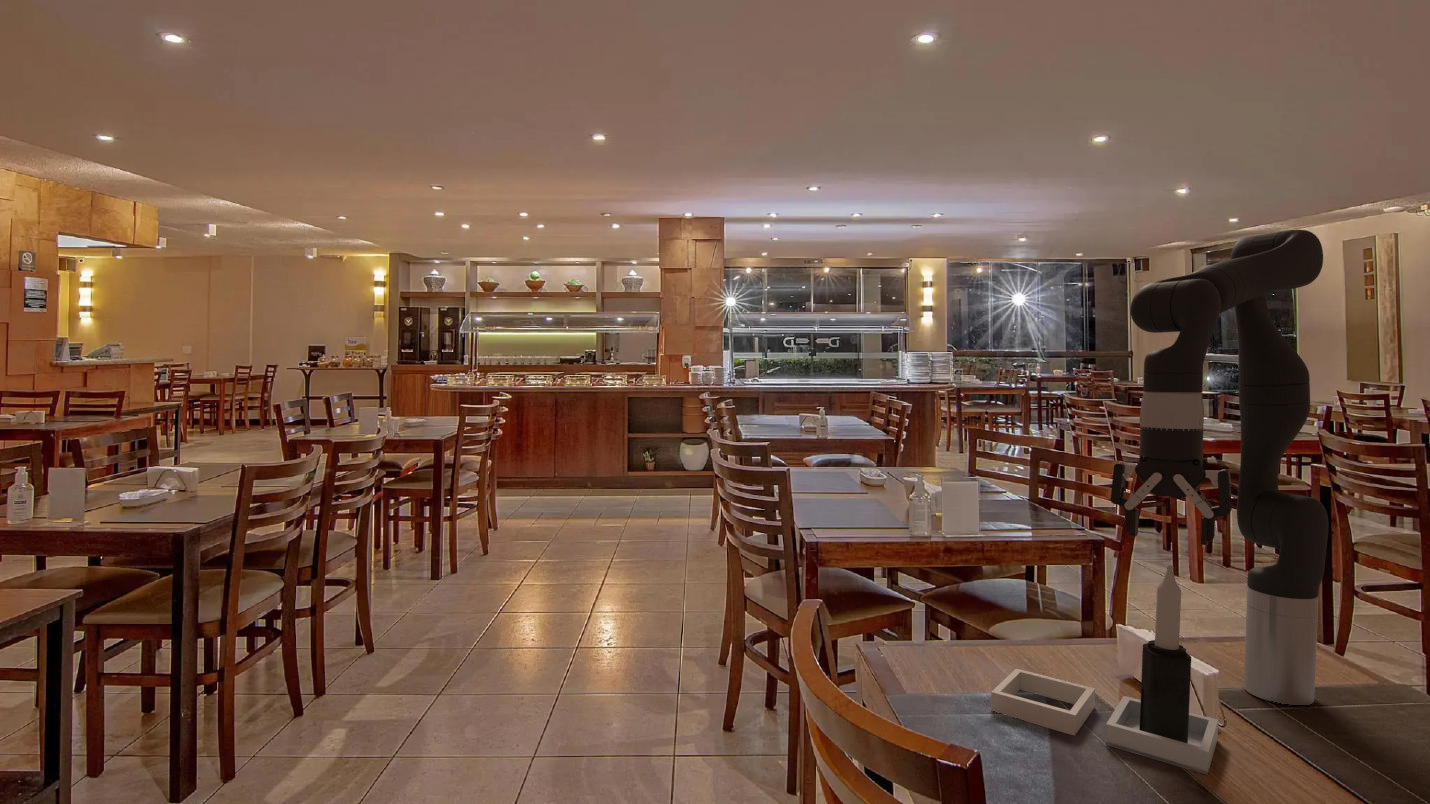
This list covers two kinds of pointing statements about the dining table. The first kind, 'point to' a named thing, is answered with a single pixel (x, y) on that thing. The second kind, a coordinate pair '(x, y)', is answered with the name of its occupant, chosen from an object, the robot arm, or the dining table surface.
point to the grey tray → (1163, 738)
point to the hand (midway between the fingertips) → (1168, 539)
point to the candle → (1166, 669)
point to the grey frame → (1041, 712)
